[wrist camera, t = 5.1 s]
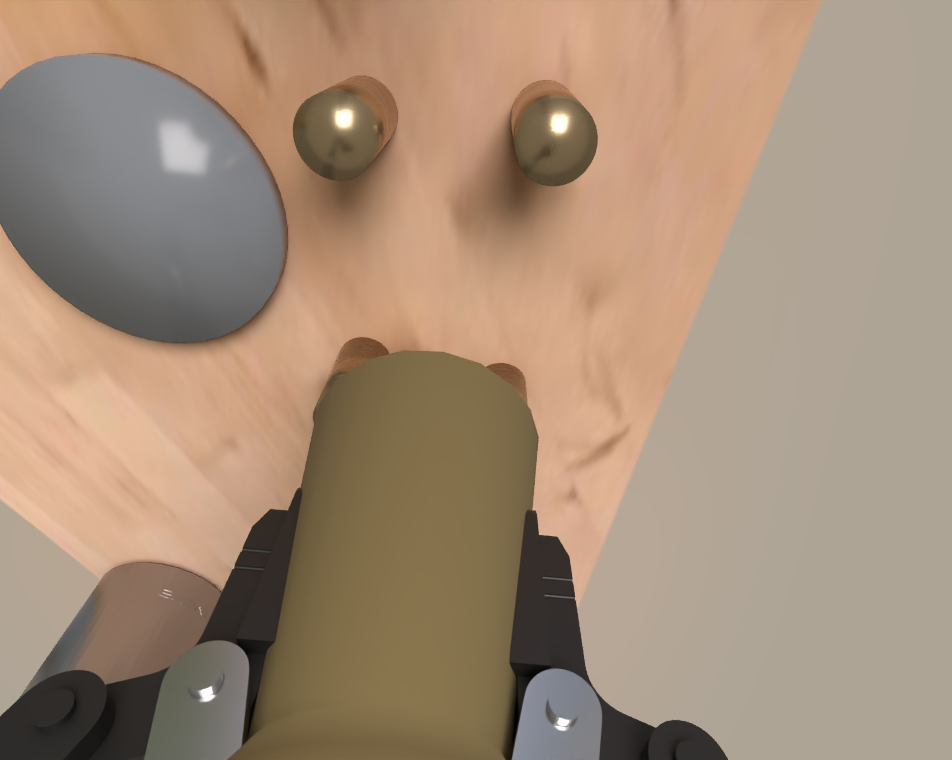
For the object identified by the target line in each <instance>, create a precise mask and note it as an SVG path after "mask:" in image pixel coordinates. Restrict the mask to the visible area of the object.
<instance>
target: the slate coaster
mask: <svg viewBox="0 0 952 760" xmlns="http://www.w3.org/2000/svg"><path fill="white" fill-rule="evenodd" d="M0 224H1V226H2V228H3V230H4V231H5V233H6V235H7V237H8V238H9V240H10V241H11V243H12V244H13V246H14V247H15V248H16V250H17V251H18V253H19V254H20V255H21V257H22V258H23V259H24V260H25V261H26V263H27V264H28V265H29V266H30V267H31V269H32V270H33V271H34V272H35V273H36V274H37V275H38V276H39V277H40V278H41V279H42V280H43V281H44V282H45V283H46V284H47V285H48V286H49V287H50V288H52V289H53V290H54V291H55V292H56V293H58V294H59V295H60V296H61V297H62V298H64V299H65V300H66V301H68V302H69V303H70V304H72V305H73V306H75V307H76V308H78V309H79V310H80V311H82V312H84V313H85V314H87V315H89V316H91V317H92V318H94V319H96V320H97V321H100V322H102V323H104V324H106V325H108V326H110V327H112V328H114V329H117V330H120V331H122V332H125V333H128V334H131V335H134V336H138V337H141V338H145V339H149V340H155V341H161V342H171V343H191V342H201V341H206V340H211V339H215V338H218V337H221V336H224V335H226V334H228V333H230V332H232V331H234V330H236V329H238V328H240V327H241V326H242V325H244V324H245V323H247V322H248V321H249V320H251V319H252V318H253V317H254V316H255V314H256V313H257V312H258V311H259V310H260V309H261V308H262V307H263V305H264V304H265V303H266V302H267V300H268V299H269V297H270V296H271V294H272V293H273V292H274V290H275V289H276V287H277V285H278V282H279V280H280V278H281V276H282V273H283V269H284V266H285V262H286V256H287V249H288V227H287V220H286V214H285V209H284V205H283V201H282V198H281V194H280V191H279V189H278V186H277V184H276V181H275V179H274V176H273V174H272V172H271V170H270V168H269V166H268V165H267V163H266V161H265V159H264V157H263V155H262V154H261V152H260V151H259V149H258V148H257V146H256V145H255V144H254V142H253V141H252V139H251V138H250V136H249V135H248V134H247V133H246V132H245V130H244V129H243V128H242V127H241V126H240V125H239V123H238V122H237V121H236V120H235V119H234V118H233V117H232V116H231V115H230V114H229V113H228V112H227V111H226V110H225V109H224V108H223V107H222V106H221V105H220V104H219V103H217V102H216V101H215V100H214V99H212V98H211V97H210V96H208V95H207V94H206V93H205V92H203V91H202V90H201V89H199V88H198V87H196V86H195V85H193V84H191V83H190V82H188V81H187V80H185V79H183V78H182V77H180V76H179V75H176V74H174V73H172V72H170V71H168V70H166V69H164V68H162V67H159V66H157V65H154V64H151V63H148V62H145V61H142V60H139V59H136V58H132V57H127V56H122V55H117V54H105V53H88V54H78V55H69V56H60V57H54V58H51V59H47V60H44V61H40V62H37V63H35V64H33V65H31V66H29V67H27V68H25V69H23V70H21V71H20V72H19V73H17V74H16V75H15V76H14V77H12V78H11V79H10V80H9V81H7V82H6V84H5V85H4V86H3V87H2V88H1V90H0Z"/></svg>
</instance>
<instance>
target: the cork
mask: <svg viewBox="0 0 952 760" xmlns="http://www.w3.org/2000/svg"><path fill="white" fill-rule="evenodd" d="M538 438H539V437H538V434H537V430H536V427H535V424H534V420H533V417H532V414H531V410H530V408H529V407H528V406H527V405H526V403H525V402H524V401H523V399H522V398H521V397H520V396H519V394H518V393H517V392H516V390H515V389H514V388H513V387H512V385H511V384H510V383H508V382H507V381H505V380H504V379H503V378H501V377H500V376H498V375H497V374H495V373H494V372H492V371H491V370H489V369H488V368H486V367H485V366H483V365H482V364H480V363H477V362H474V361H470V360H467V359H464V358H461V357H458V356H454V355H451V354H448V353H445V352H430V351H400V352H396V353H392V354H388V355H384V356H380V357H376V358H372V359H368V360H366V361H365V362H363V363H361V364H360V365H358V366H357V367H355V368H353V369H352V370H350V371H349V372H347V373H345V374H344V375H342V376H341V377H339V378H338V379H337V380H336V382H335V383H334V384H333V386H332V387H331V388H330V390H329V391H328V392H327V394H326V395H325V396H324V398H323V399H322V400H321V401H320V404H319V408H318V412H317V416H316V420H315V424H314V428H313V433H312V438H311V442H310V447H309V452H308V456H307V461H306V466H305V470H304V475H303V480H302V484H301V488H302V498H301V504H300V509H299V515H298V520H297V526H296V531H295V537H294V542H293V548H292V553H291V559H290V564H289V570H288V575H287V581H286V586H285V591H284V597H283V602H282V608H281V613H280V619H279V624H278V630H277V635H276V641H275V642H274V643H273V644H272V645H271V646H270V647H269V648H268V649H267V653H266V657H265V662H264V666H263V671H262V676H261V681H260V685H259V690H258V694H257V699H256V703H255V707H254V712H253V716H252V720H251V725H250V729H249V733H248V738H247V742H246V743H245V744H244V745H243V746H242V747H240V748H239V749H238V750H237V751H236V752H235V753H234V754H233V755H232V756H230V757H229V758H228V759H227V760H510V758H511V752H512V740H513V729H514V717H515V705H516V680H517V679H516V677H515V674H514V672H513V670H512V668H511V666H510V646H511V637H512V628H513V619H514V611H515V602H516V593H517V584H518V575H519V566H520V557H521V548H522V539H523V530H524V522H525V514H526V511H527V510H532V508H533V496H534V485H535V473H536V461H537V450H538Z"/></svg>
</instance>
